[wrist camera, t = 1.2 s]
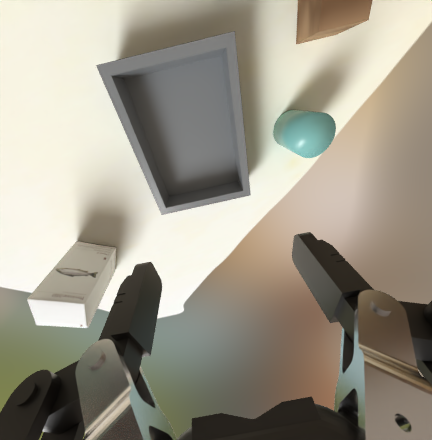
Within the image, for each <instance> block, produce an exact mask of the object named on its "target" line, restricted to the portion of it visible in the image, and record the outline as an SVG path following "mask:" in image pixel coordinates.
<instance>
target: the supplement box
mask: <svg viewBox="0 0 432 440" xmlns="http://www.w3.org/2000/svg"><path fill="white" fill-rule="evenodd" d="M115 264H116V247H109V246H102V245H96V244H90V243H84V242H79V241H77V242H75V244H74V245H73V246H72V247H71V248H70V249H69V251H68V252H67V253H66V254H65V255H64V257H63V258H62V259H61V260H60V261H59V263H58V264H57V265H56V266H55V267H54V268H53V270H52V271H51V272H50V273H49V274H48V275H47V277H46V278H45V279H44V280H43V281H42V282H41V284H40V285H39V286H38V287H37V288H36V289H35V291H34V292H33V293H32V294H31V295H30V296H29V298H28V299H27V300H28V303H29V306H30V308H31V311H32V314H33V316H34V320H35V323H36V325H44V326H62V327H79V328H88V327H89V325H90V323H91V320H92V318H93V316H94V314H95V312H96V310H97V308H98V306H99V304H100V301H101V299H102V297H103V295H104V293H105V291H106V289H107V287H108V285H109V283H110V280H111V278H112V276H113V274H114V272H115Z"/></svg>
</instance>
